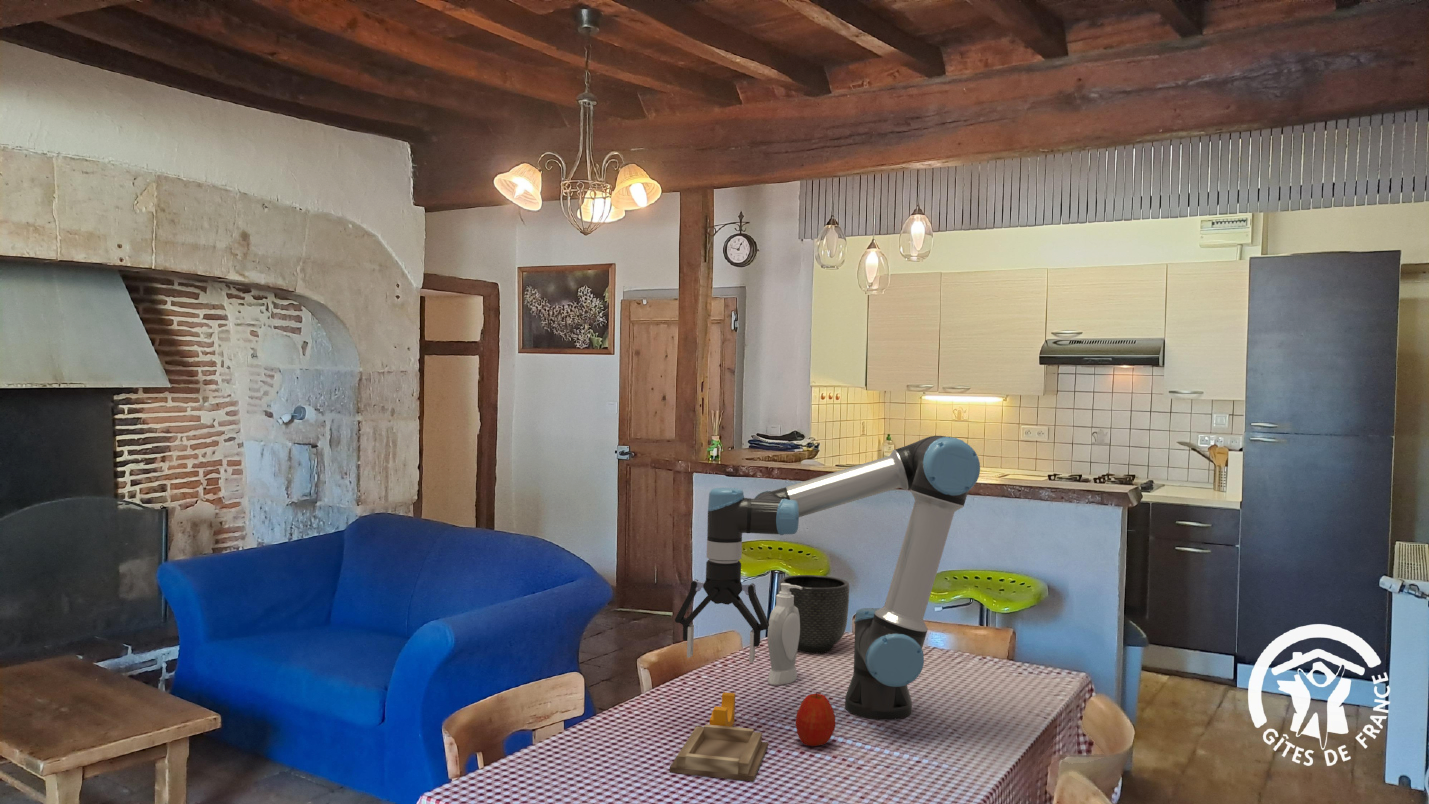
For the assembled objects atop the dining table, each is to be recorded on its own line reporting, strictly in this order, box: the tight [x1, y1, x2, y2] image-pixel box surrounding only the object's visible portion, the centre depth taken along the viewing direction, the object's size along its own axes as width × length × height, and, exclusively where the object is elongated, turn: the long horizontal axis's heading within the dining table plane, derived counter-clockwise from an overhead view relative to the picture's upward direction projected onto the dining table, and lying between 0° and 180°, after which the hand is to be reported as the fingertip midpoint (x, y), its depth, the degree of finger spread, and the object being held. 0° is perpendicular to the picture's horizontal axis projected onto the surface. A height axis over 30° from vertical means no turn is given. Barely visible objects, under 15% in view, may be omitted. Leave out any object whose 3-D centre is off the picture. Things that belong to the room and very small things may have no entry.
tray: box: [669, 723, 769, 782], centre depth 189 cm, size 16×18×3 cm
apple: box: [795, 691, 836, 747], centre depth 199 cm, size 8×8×11 cm
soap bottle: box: [767, 583, 803, 686], centre depth 241 cm, size 13×8×24 cm, turn 139°
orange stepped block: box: [708, 691, 736, 727], centre depth 206 cm, size 12×4×6 cm, turn 169°
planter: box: [778, 574, 850, 654], centre depth 274 cm, size 20×20×19 cm
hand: (720, 658), depth 209 cm, fingers open, 13 cm apart
